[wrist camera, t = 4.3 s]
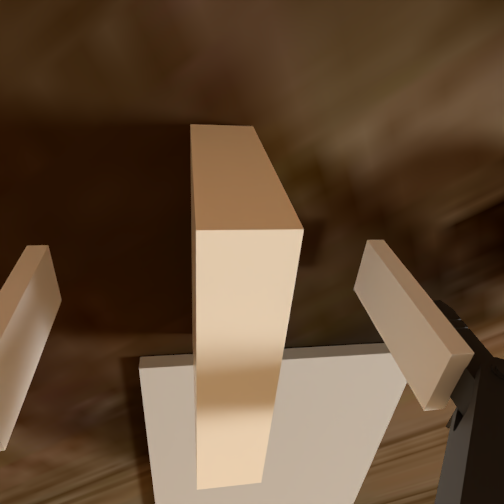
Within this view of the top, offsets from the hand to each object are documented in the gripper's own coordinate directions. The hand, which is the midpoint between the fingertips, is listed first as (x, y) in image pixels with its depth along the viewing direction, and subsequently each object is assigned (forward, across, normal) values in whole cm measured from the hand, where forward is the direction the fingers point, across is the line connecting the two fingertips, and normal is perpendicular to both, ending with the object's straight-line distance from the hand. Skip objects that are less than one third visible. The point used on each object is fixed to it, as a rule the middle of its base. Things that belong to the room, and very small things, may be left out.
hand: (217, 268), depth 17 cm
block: (+2, 0, 0) cm, 2 cm away
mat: (+2, +4, -17) cm, 17 cm away
